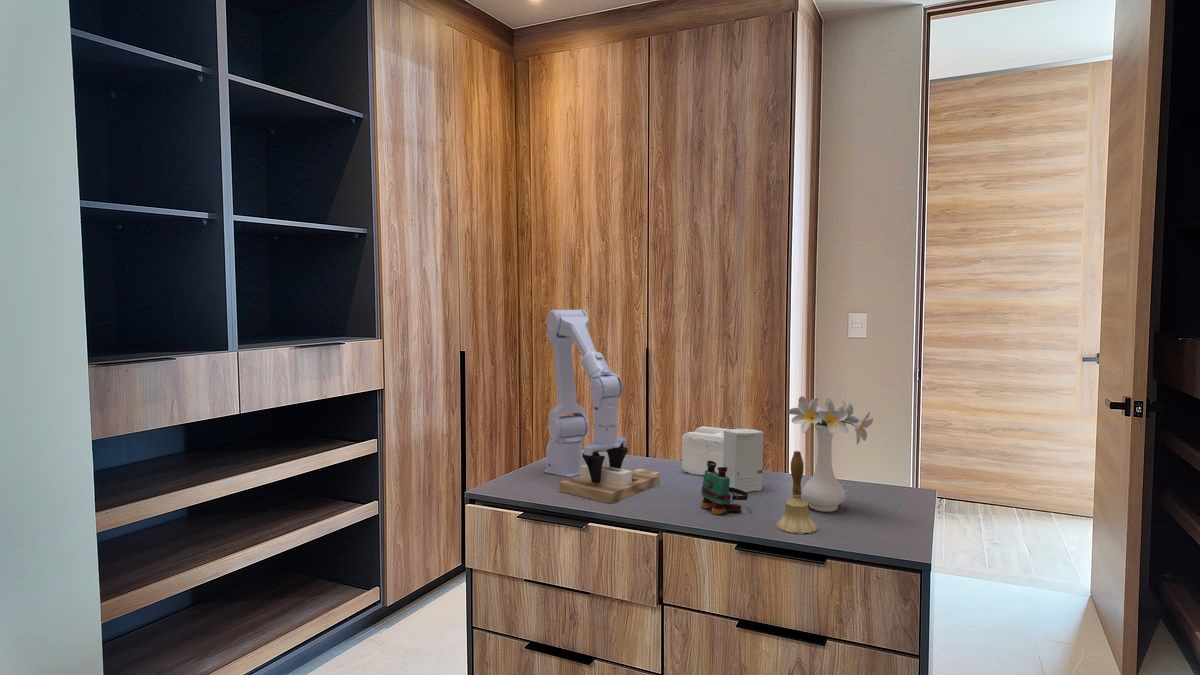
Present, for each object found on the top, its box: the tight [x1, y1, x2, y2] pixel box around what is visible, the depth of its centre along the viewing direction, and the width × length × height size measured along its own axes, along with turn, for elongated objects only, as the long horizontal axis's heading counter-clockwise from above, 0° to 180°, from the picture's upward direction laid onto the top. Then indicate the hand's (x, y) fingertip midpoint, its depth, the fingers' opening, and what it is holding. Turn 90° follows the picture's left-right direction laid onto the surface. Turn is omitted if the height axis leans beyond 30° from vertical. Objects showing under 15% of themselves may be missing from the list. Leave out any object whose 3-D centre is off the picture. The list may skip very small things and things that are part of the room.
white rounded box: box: [681, 425, 730, 476], centre depth 190 cm, size 15×11×12 cm
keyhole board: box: [559, 465, 660, 504], centre depth 175 cm, size 20×16×2 cm
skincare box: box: [723, 428, 764, 494], centre depth 175 cm, size 8×6×15 cm
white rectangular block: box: [579, 463, 633, 487], centre depth 174 cm, size 13×4×5 cm, turn 52°
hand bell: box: [775, 450, 818, 535], centre depth 146 cm, size 8×8×16 cm
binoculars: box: [700, 461, 749, 515], centre depth 159 cm, size 9×11×10 cm
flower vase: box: [787, 396, 874, 513], centre depth 159 cm, size 13×18×25 cm
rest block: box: [633, 468, 661, 480], centre depth 184 cm, size 6×3×2 cm, turn 52°
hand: (605, 479), depth 174 cm, fingers open, 7 cm apart
